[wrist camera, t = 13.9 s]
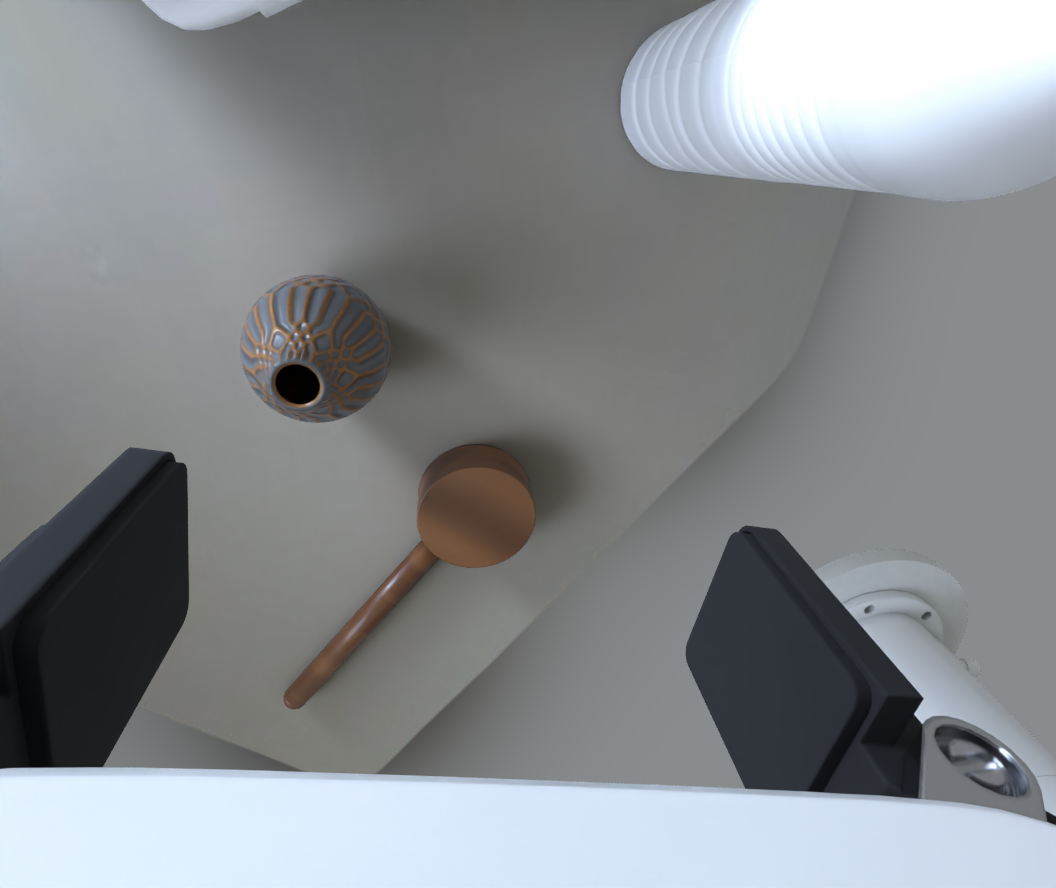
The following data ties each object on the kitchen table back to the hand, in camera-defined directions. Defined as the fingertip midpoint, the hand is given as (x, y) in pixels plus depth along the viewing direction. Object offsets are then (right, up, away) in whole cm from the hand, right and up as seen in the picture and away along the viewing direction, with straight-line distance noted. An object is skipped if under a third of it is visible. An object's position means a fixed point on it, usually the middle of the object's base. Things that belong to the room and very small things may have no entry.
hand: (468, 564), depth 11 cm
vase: (-10, +8, +23) cm, 27 cm away
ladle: (-8, -7, +31) cm, 32 cm away
